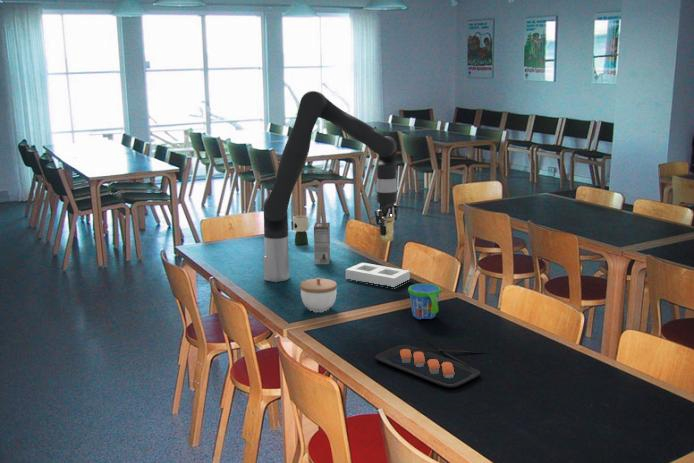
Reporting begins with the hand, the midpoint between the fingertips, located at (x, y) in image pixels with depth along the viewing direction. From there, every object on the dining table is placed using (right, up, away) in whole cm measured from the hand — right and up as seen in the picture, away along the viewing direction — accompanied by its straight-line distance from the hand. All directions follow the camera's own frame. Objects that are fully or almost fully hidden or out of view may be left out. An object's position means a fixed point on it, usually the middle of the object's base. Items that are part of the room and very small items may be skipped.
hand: (386, 233), depth 277 cm
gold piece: (0, -2, +1) cm, 2 cm away
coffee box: (-26, -12, +33) cm, 43 cm away
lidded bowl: (-25, -26, -27) cm, 45 cm away
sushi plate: (+12, -37, -70) cm, 80 cm away
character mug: (-37, -5, +62) cm, 72 cm away
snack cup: (+10, -28, -35) cm, 46 cm away
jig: (-3, -18, +6) cm, 19 cm away
